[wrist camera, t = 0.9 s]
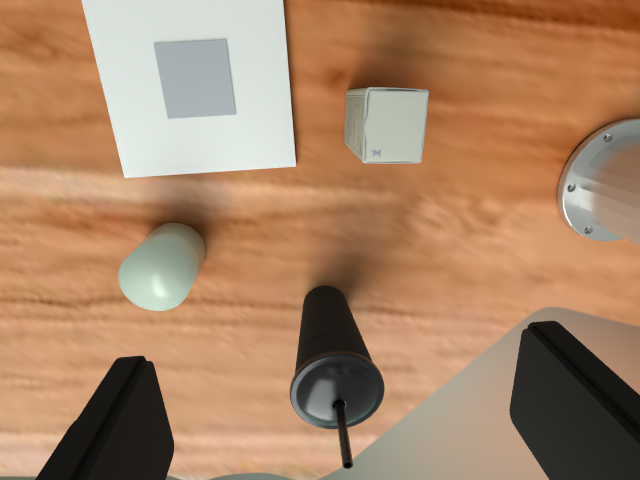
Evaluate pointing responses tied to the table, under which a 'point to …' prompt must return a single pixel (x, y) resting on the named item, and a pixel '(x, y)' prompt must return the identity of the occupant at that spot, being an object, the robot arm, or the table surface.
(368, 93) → the box
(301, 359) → the drinking cup
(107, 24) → the white square plate
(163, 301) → the pale green capsule
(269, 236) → the table surface
